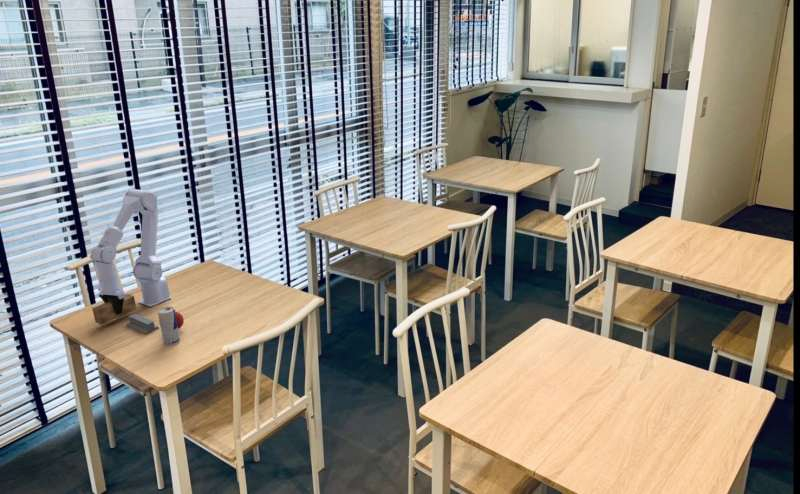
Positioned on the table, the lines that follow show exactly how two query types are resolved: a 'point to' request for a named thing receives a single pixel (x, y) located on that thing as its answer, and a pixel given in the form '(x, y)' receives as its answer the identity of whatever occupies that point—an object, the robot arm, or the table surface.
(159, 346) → the table surface
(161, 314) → the energy drink
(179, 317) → the onion
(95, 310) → the batten
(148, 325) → the ridge
